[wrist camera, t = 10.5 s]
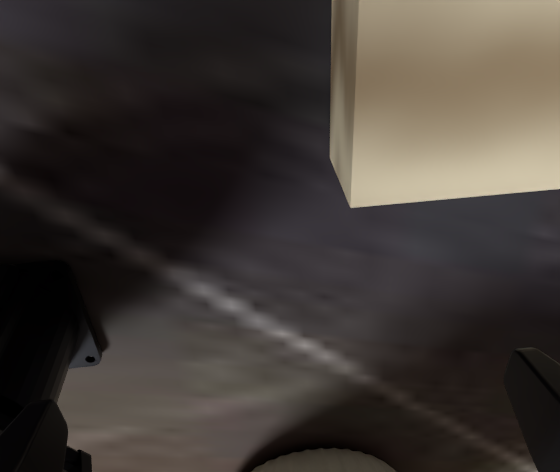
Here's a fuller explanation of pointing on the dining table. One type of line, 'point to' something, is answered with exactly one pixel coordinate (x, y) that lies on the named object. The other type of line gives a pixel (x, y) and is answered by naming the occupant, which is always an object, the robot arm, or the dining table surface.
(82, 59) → the dining table surface
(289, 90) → the dining table surface
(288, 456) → the canister
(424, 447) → the dining table surface
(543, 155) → the hole block
